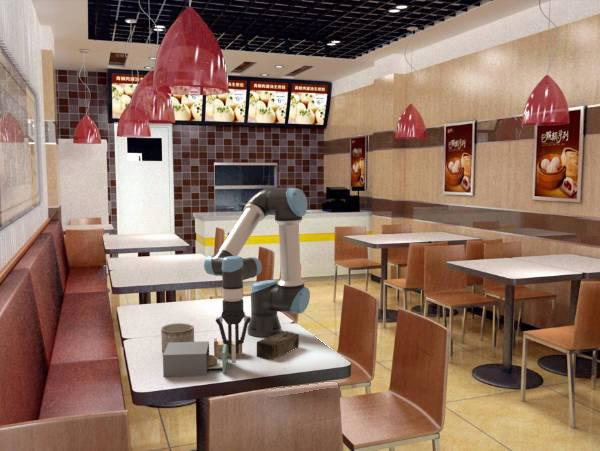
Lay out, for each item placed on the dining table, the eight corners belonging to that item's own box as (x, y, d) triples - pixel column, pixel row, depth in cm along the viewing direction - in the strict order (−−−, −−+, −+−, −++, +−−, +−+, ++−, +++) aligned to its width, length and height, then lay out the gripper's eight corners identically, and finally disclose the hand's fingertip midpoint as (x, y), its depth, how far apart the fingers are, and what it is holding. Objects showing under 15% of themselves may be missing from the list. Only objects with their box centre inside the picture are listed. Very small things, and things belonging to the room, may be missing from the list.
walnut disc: (217, 360, 212) (217, 354, 212) (216, 367, 204) (216, 361, 204) (196, 361, 211) (195, 355, 211) (194, 368, 203) (193, 362, 203)
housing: (209, 361, 215) (208, 341, 214) (206, 375, 200) (206, 353, 200) (169, 362, 214) (168, 342, 213) (163, 376, 199) (162, 355, 198)
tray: (226, 360, 215) (226, 341, 214) (225, 373, 201) (225, 352, 201) (187, 361, 214) (186, 342, 213) (182, 374, 200) (182, 354, 199)
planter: (159, 350, 229) (158, 325, 228) (190, 346, 234) (190, 321, 233) (165, 359, 217) (164, 333, 216) (197, 355, 222) (197, 329, 221)
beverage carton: (300, 348, 232) (299, 332, 231) (271, 361, 216) (271, 344, 215) (284, 344, 236) (284, 329, 235) (255, 357, 220) (255, 341, 220)
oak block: (242, 352, 225) (242, 337, 224) (242, 356, 220) (242, 341, 220) (214, 353, 224) (214, 338, 223) (214, 357, 219) (213, 341, 219)
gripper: (250, 296, 210) (251, 358, 213) (215, 297, 209) (216, 359, 211) (251, 300, 203) (251, 364, 205) (214, 301, 202) (215, 366, 204)
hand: (233, 362), depth 208 cm, fingers closed
